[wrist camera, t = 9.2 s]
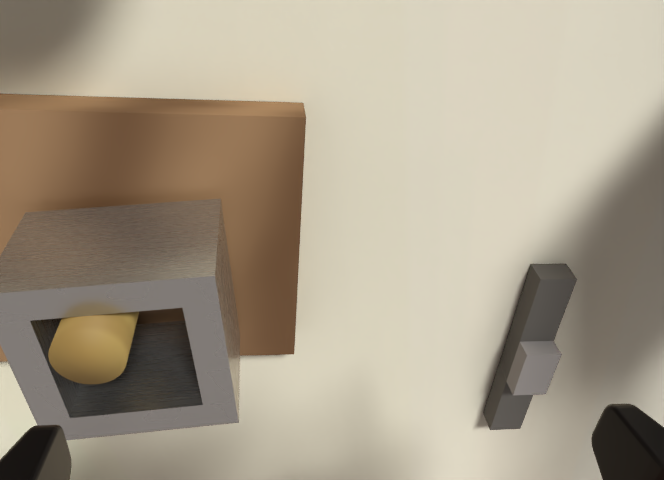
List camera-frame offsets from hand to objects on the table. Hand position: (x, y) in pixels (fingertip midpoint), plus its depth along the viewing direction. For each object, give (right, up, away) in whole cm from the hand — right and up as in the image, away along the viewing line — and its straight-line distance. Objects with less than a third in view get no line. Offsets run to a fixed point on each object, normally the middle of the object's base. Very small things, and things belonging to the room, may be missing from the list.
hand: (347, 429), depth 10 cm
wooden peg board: (-7, +3, +11) cm, 14 cm away
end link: (-7, +2, +11) cm, 13 cm away
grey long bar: (+8, -2, +17) cm, 19 cm away
